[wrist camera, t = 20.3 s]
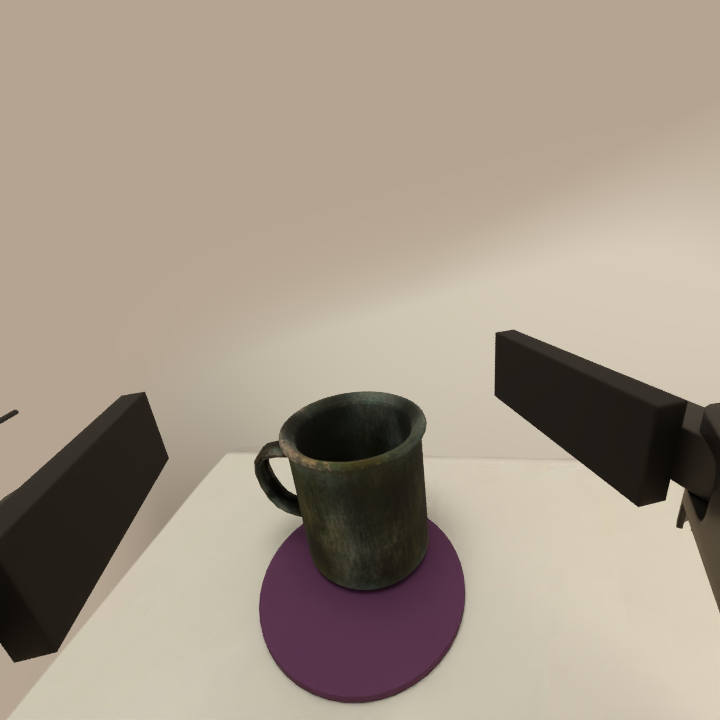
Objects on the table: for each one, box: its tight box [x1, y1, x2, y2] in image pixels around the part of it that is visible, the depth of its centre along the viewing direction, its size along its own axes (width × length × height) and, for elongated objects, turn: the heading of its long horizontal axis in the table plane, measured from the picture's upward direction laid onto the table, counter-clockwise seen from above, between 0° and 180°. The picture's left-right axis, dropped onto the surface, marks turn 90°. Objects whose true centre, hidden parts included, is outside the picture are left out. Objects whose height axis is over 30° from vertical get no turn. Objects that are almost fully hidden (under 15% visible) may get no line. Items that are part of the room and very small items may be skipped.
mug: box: [254, 392, 429, 590], centre depth 29 cm, size 11×15×12 cm
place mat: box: [259, 518, 465, 702], centre depth 28 cm, size 16×16×1 cm
